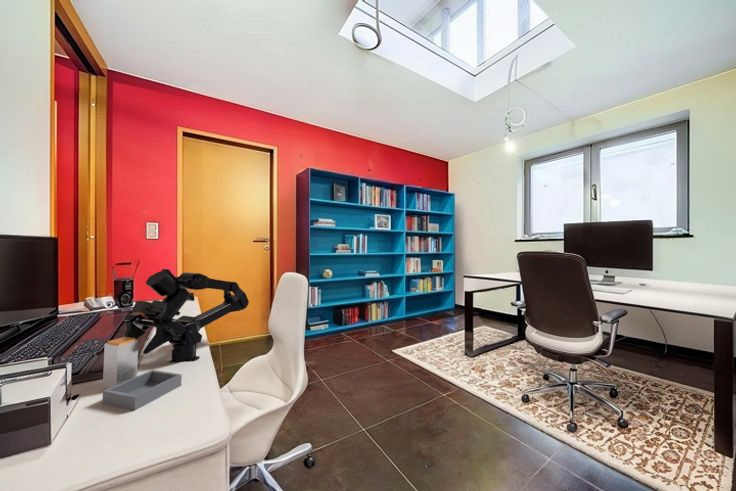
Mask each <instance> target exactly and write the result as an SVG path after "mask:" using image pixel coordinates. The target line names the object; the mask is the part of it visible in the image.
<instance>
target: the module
mask: <svg viewBox="0 0 736 491" xmlns="http://www.w3.org/2000/svg"><path fill="white" fill-rule="evenodd" d="M138 361H139V339H137V340H135V338H130V337H124V336H123V337H118V338H115V339H111V340H108V341H107V342H106V343H104V354H103V372H102V373H103V374H102V388H105V389H109V388H111V387H114V386H116V385H118V384H121V383H123V382H125V381H128V380H130V379H132V378H135V377H137V376H138V364H139V362H138Z"/></svg>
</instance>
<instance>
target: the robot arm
mask: <svg viewBox="0 0 736 491" xmlns="http://www.w3.org/2000/svg"><path fill="white" fill-rule="evenodd" d="M145 284H146V285H147V286H148V287H149V288H150V289H151V290H152V291H154V293H156V294H158V296H160V297H164V298H163V299H162V300H158V299H154V300H152V301H151V302H150V301H146V300H145V301H144V300H136V301H135V304H134V305H133V307H132V309H131V312H132V313H128V314H127V315H126V316H125V317H124V318H123V319H122V320H123V322H124V324H125V326H126V332H125V335H124V336H123V337H130V338H135V340H139V338H140V337H141V336H143V335H144V334H146V330H148V329H149V328H155V334H154V335H153V336H152V338H151V339H150V341H149V342H148V344H147V345H146V346H145V348H144V349H143V351H142V354H145V355H147V354H149V353H151V352H152V351H154V350H156V349H157V348H159V347H161V346H162V345H164V344H166V343H167V342H168V343H169V344H171V343H174V345H173V346H172V350H171V360H168V364H169V363H176V364H179V363H188V362H190V363H191V362H194V361H196V360H198V359H200V356H199V355H197V345H198V344H199V343H201V342H202V339H203V334H202V333H200V332H201V331H200V330H201V329H202V328H204V327H206V326H208V325H210V324H212V323H214V322H215V321H217V320H220V319H221V318H222V317H224V316H226V315H228V314H230V313H234V312H240V311H244V310H245V309H247V307H248V306H249V302H250V301H249V299H248V296H247V294H246V293H245V291H243V289H242V288H240V286H239V284H238V283H237V282H236V281H231V280H230V281H227V280H221V279H216V278H215V279H214V278H210V277H208V276H207V275H205V274H203V273H199V272H186V271H185V272H182V273H181V274H180V275H179V276H175V275H174V274H173V273H172V271H171V270H170V269H169V268H162V269H161V270H159V271H158V272H155V273H153V274H152V275H150V276H148V278H147V279H146V281H145ZM206 289H210V290H219V291H223V299H224V300H223V302H222V303H221V304H218V305H216V306H214V307H212V308H210V309H208V310H206V311H204V312H201V313H199V314H198V315H196V316H190V315H189V316H188V315H182V316H180V314H181V312H180V310H181V309H182V307H183V306H184V305H185V304H186V303H187V301H190V302H194V301H195V296H194V295H195V294H194V292H189V291H188V290H192V291H193V290H194V291H199V290H206ZM136 312H137V313H136ZM140 313H141V314H140ZM176 316H177V317H178V316H179V317H178V318H174V317H176Z"/></svg>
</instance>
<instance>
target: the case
mask: <svg viewBox="0 0 736 491" xmlns="http://www.w3.org/2000/svg"><path fill="white" fill-rule="evenodd" d="M182 376H183V375H182V374H180V373H175V372H169V371H164V370H163V371H162V370H158V369H151V370H149V371H146V372H143V373H142V374H140V375H137V377H135V378H132V379H130V380H128V381H125V382H123V383H121V384H118V385H116V386H114V387H111V388H109V389H108V388H105V389H104V390H102V399H101V400H102V401H101V402H102V405H107V406H111V407H116V408H121V409H124V410H130V411H137V410H138V409H141V408H142V407H145V406H146V405H148V404H150V403H152V402H153V401H155V400H157V399H159V398H161V397H163V396H165V395H167V394H168V393H170V392H172V391H174V390H176V389H177V388H179V387H182Z"/></svg>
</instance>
